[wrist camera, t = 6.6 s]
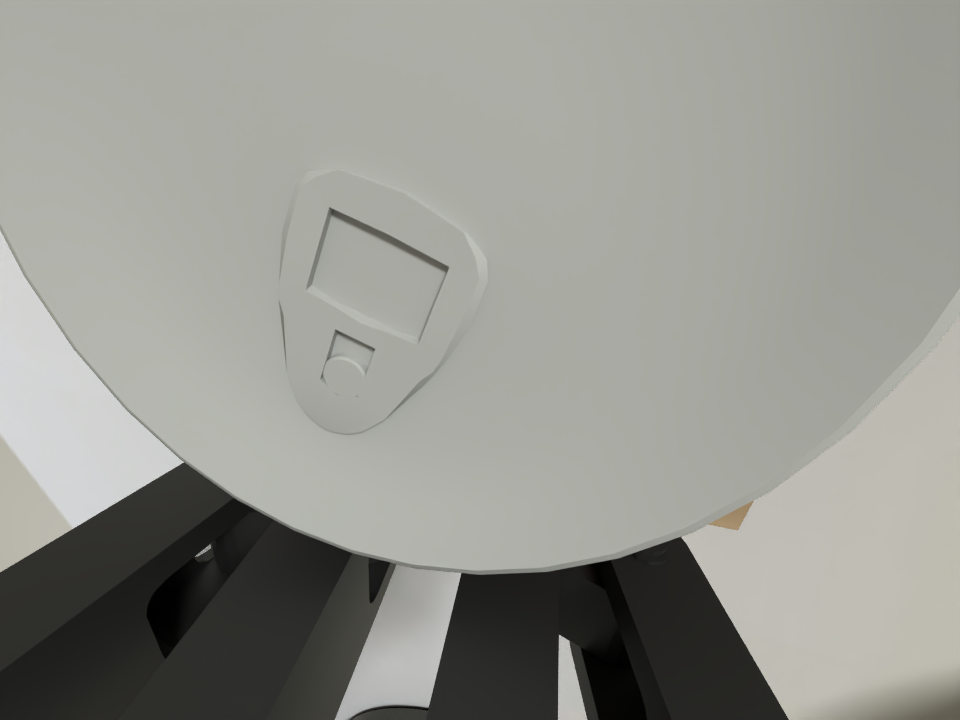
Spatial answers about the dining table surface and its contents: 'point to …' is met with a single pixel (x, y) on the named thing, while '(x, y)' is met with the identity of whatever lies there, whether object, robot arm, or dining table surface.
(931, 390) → the dining table surface
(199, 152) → the canned food
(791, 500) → the dining table surface
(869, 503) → the dining table surface
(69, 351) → the dining table surface
